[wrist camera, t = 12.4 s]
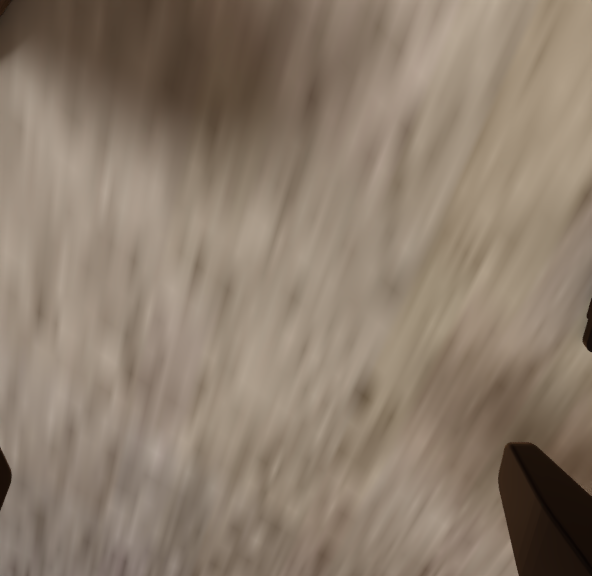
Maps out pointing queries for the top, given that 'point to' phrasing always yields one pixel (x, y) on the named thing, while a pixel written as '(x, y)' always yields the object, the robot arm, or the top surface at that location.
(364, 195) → the top surface
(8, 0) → the duct stub
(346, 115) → the top surface
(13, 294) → the top surface
